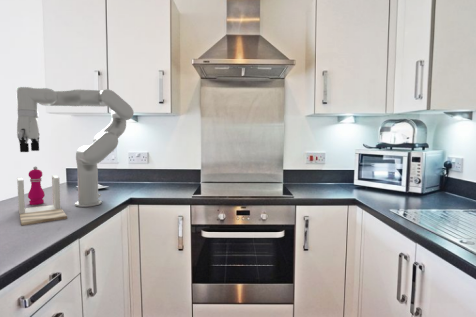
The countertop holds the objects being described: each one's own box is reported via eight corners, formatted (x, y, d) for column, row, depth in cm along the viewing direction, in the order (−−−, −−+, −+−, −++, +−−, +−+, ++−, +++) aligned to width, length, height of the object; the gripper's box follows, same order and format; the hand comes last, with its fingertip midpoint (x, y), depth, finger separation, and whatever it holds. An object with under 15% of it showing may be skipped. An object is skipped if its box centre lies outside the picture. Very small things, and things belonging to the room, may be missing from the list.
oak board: (19, 216, 126) (19, 213, 125) (61, 210, 136) (61, 208, 136) (21, 225, 113) (21, 222, 113) (67, 218, 124) (67, 215, 124)
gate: (18, 210, 135) (17, 177, 134) (57, 205, 146) (56, 175, 144) (19, 214, 128) (18, 180, 127) (60, 209, 138) (59, 177, 137)
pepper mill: (25, 205, 144) (24, 167, 143) (31, 202, 151) (30, 165, 150) (41, 204, 146) (40, 167, 145) (47, 201, 153) (45, 165, 152)
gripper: (28, 115, 136) (30, 150, 138) (7, 112, 119) (10, 152, 121) (45, 115, 138) (47, 150, 139) (27, 113, 121) (29, 152, 122)
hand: (30, 151), depth 130 cm, fingers open, 9 cm apart
